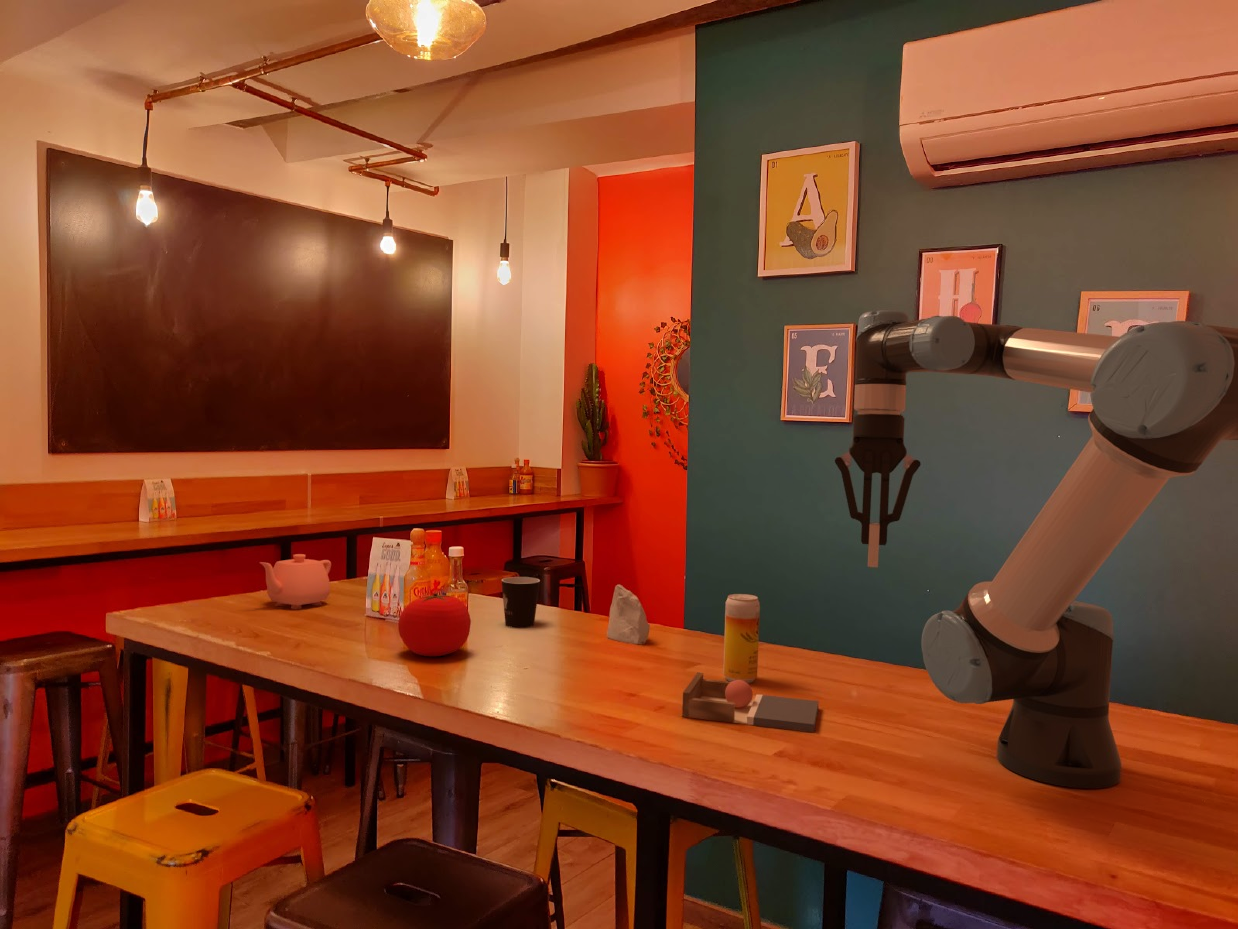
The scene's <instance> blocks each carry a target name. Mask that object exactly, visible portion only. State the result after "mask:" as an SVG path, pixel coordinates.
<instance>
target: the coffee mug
mask: <svg viewBox="0 0 1238 929" xmlns="http://www.w3.org/2000/svg"><path fill="white" fill-rule="evenodd" d="M540 583H541V580H540V579H539V578H536V577H529V576H514V577H505V578H502V579H501V589H502V601H503V614H504V625H505V626H506V627H510V628H517V629H518V628H519V629H523V628H531V627H534V625H535V620H536V612H537V604H538V597H539V592H540Z"/></svg>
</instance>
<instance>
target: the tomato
mask: <svg viewBox="0 0 1238 929" xmlns="http://www.w3.org/2000/svg"><path fill="white" fill-rule="evenodd" d="M471 620H472V619H471V614H470V612H469V610H468V608H467V606H466V604H465V603H464V602H463V601H462V600H461V599H459V598H458V597H455V596H453V595H446V594H445V595H444V594H438V593H436V592H434V593H433V595H432V594H431V595H425V596H423V595H421V596H419V597H418V598H416V599H414V600H412V601H411V602H409V603H408V604H407V605H406V606H405V607H404V608H403V610H402V612H401V613H400V615H399V617H398V622H397V623H398V627H397V628H398V633H399V637H400V638H401V640H402V642H403V644H404V645H405V646H406V647H407V648H408V650H410V651H411V652H413V653H414V654H416V655H420V656H424V657H441V656H445V655H448V654H449V655H450V654H452V653H454V652H457V651H458V650H459V649H460V648H462V647H463V645H465V643H467V641H468V638H469V635H470V630H471V626H472V625H471V623H472V621H471Z"/></svg>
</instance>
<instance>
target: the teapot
mask: <svg viewBox="0 0 1238 929" xmlns="http://www.w3.org/2000/svg"><path fill="white" fill-rule="evenodd" d="M292 556H293V558H292V559H285V560H279V561H276V562H275V564H274V566H272V564H271V563H269V562H262V561H260V562H259V561H258V562H259V564H260V565H262V566H263V567H264V569H265V583H266V586H267V587H266V594H267V596H268V598H269V599H270V600H271V601H272V602H275V604H274V606H276V607H283V606H286V605H290V606H291V607H290V609H291V610H301V609H302V605H308V604H309V605H311V606H321V605H323V604H322V602H323V601H326V600H327V599H328V598H329V595H330V593H331V585H330V584H331V583H330V578H329V573H330V571H331V567H332V562H331V561H330V560H329V559H322V560H316V559H309V558H307V559H306V554H303V553H297V554H293V555H292Z"/></svg>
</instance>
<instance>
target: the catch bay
mask: <svg viewBox="0 0 1238 929" xmlns="http://www.w3.org/2000/svg"><path fill="white" fill-rule="evenodd" d="M729 683H730V681H728V680H725V681H723V680H717V679H707V678H706V679H705V678H704V672H697V673H696V674H695V675H694V677H693V678H692V679H691V681H690V682H689V684H688V685H687V686H686V687H685V689H684V690H683V692H682V712H681V713H682V714H681V717H683V718H690V719H692V718H693V719H699V720H701V719H702V720H710V721H715V722H726V723H731V724H732V723H733V724H735V723H734V719H735V703H733V702H724V701H715V700H707V699H700V698H701V696H707V697H715V698H724V699H726V697H725V690H726V687H727V686H728V684H729Z"/></svg>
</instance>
